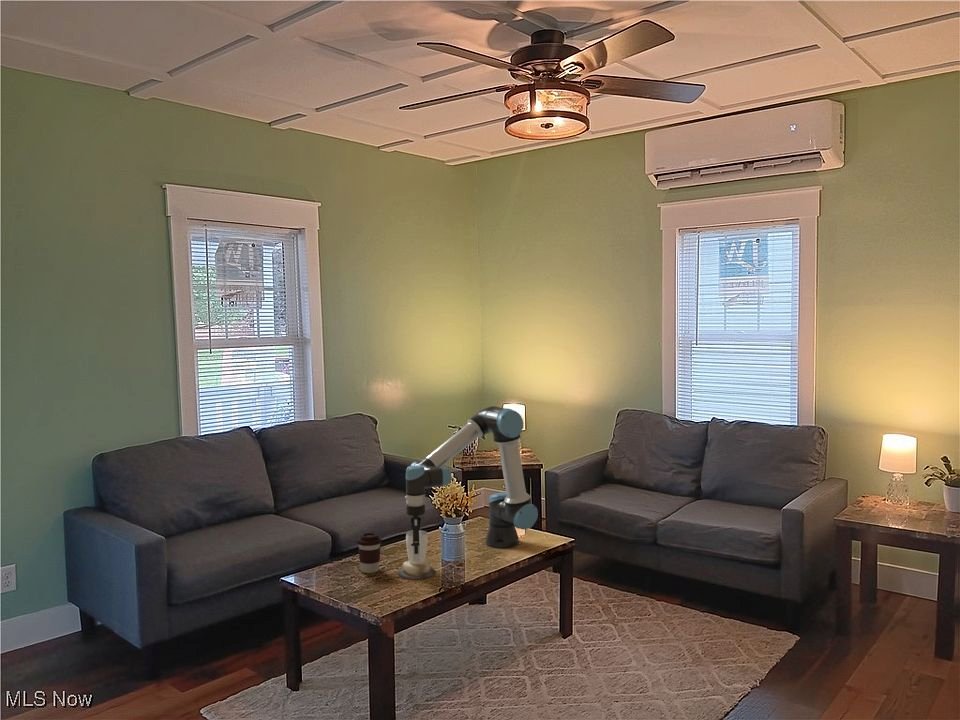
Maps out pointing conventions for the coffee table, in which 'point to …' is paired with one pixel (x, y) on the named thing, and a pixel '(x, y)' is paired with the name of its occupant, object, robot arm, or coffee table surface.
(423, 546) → the cup
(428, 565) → the pedestal
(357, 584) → the coffee table surface
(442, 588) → the coffee table surface
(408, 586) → the coffee table surface
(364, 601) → the coffee table surface
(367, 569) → the coffee cup
